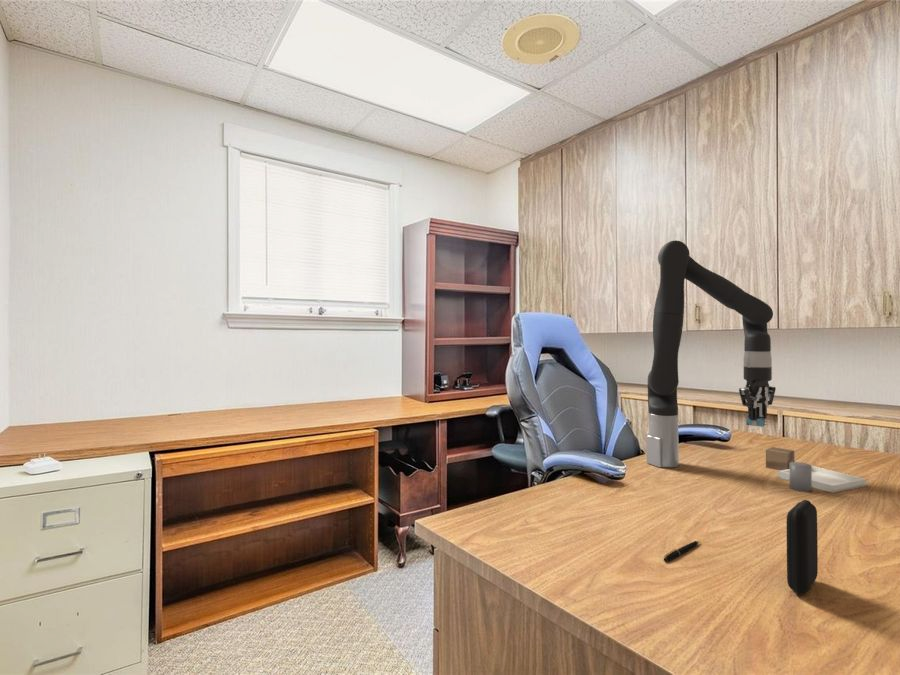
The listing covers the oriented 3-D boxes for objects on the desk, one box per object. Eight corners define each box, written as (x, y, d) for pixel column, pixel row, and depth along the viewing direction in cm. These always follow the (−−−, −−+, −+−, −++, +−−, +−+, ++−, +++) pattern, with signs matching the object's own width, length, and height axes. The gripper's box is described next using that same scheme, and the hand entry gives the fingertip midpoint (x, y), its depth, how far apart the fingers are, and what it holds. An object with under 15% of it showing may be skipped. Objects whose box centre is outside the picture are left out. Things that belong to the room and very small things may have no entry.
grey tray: (832, 492, 128) (832, 485, 128) (777, 477, 142) (777, 470, 142) (866, 486, 133) (866, 479, 133) (810, 471, 147) (810, 465, 147)
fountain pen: (697, 542, 100) (697, 535, 100) (702, 544, 99) (702, 537, 99) (660, 562, 91) (660, 555, 91) (666, 565, 90) (666, 557, 90)
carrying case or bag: (800, 572, 86) (800, 494, 86) (821, 579, 84) (820, 498, 84) (784, 594, 79) (783, 508, 79) (806, 602, 77) (805, 513, 77)
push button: (771, 425, 148) (771, 394, 148) (768, 428, 144) (768, 396, 144) (747, 423, 152) (747, 392, 152) (744, 425, 148) (743, 394, 148)
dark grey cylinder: (803, 492, 128) (803, 467, 128) (785, 487, 133) (785, 463, 133) (815, 490, 130) (815, 465, 130) (797, 485, 135) (797, 461, 135)
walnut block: (787, 472, 147) (787, 453, 147) (765, 467, 152) (765, 449, 152) (794, 468, 151) (794, 450, 151) (773, 464, 156) (773, 446, 156)
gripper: (761, 364, 154) (761, 415, 154) (730, 365, 149) (730, 418, 149) (784, 365, 147) (784, 419, 147) (752, 367, 142) (752, 422, 142)
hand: (757, 418), depth 148 cm, fingers closed on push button, 4 cm apart
